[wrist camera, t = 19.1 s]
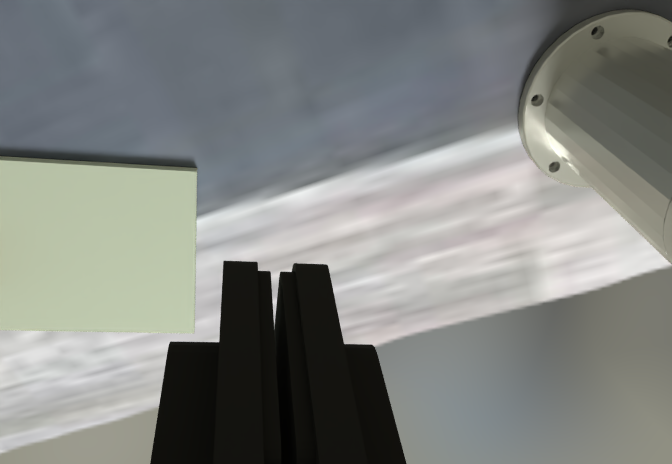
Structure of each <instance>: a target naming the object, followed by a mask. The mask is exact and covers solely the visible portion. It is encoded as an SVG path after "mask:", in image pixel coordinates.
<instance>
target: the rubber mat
mask: <svg viewBox="0 0 672 464" xmlns="http://www.w3.org/2000/svg"><path fill="white" fill-rule="evenodd" d="M196 212H197V168H188V167H171V166H155V165H138V164H121V163H105V162H88V161H72V160H55V159H38V158H22V157H5V156H0V330H21V331H80V332H138V333H194V329H195V273H196Z"/></svg>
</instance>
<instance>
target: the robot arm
mask: <svg viewBox="0 0 672 464" xmlns="http://www.w3.org/2000/svg"><path fill="white" fill-rule="evenodd" d="M593 29H594V31H593V32H592V30H593ZM591 32H592V33H591ZM535 95H536V96H535ZM533 96H535V98H533ZM532 98H533V99H532ZM518 122H519V133H520V137H521V140H522V144H523V146H524V148H525V150H526V152H527V154H528V156H529V157H530V159H531V160H532V161H533V162H534V163H535V164H536V166H537V167H538V168H539V169H540V170H541V171H542V172H543V173H545V174H546V175H547V176H548V177H550V178H552V179H554V180H556V181H558V182H560V183H562V184H566V185H570V186H574V187H586V188H593V189H594V190H595V191H596V192H597V193H598V194H599V195H600V196H601V197H602V198H603V199H604V200H605V201H606V202H607V203H608V204H609V205H610V206H611V207H612V208H613V209H614V210H615V211H617V212H618V213H619V214H620V215H621V216H622V217H623V218H624V219H625V220H626V221H627V222H628V223H629V224H630V225H631V226H632V227H633V228H634V229H635V230H636V231H637V232H638V233H639V234H640V235H642V236H643V237H644V238H645V239H646V240H647V241H648V242H649V243H650V244H651V245H652V246H653V247H654V248H655V249H656V250H657V251H658V252H659V253H660V254H661V255H662V256H663V257H664V258H665V259H667V260H668V261H669V262H670V263H671V264H672V22H671V21H669V20H667V19H665V18H663V17H661V16H658V15H655V14H652V13H649V12H646V11H640V10H631V9H627V10H616V11H610V12H606V13H603V14H599V15H596V16H593V17H591V18H589V19H587V20H585V21H583V22H581V23H579V24H577V25H575V26H574V27H573V28H571V29H570V30H568V31H567V32H566V33H564V34H563V35H561V36H560V37H559V38H558V39H557V40H556V41H555V42H554V43H553V44H552V45H551V46H550V47H549V48H548V49H547V50H546V51H545V52H544V54H543V55H542V56H541V58H540V59H539V61H538V62H537V63H536V65H535V66H534V68H533V70H532V72H531V74H530V76H529V77H528V79H527V81H526V84H525V87H524V90H523V93H522V96H521V99H520V106H519V113H518ZM150 464H406V461H405V457H404V453H403V449H402V445H401V442H400V438H399V434H398V431H397V427H396V423H395V419H394V415H393V412H392V408H391V404H390V401H389V396H388V393H387V389H386V385H385V382H384V378H383V374H382V370H381V366H380V363H379V359H378V355H377V352H376V350H375V347H374V346H373V345H357V344H344V342H343V337H342V332H341V328H340V323H339V318H338V313H337V308H336V303H335V298H334V293H333V288H332V283H331V278H330V273H329V269H328V265H324V264H297V263H294V265H293V268H292V272H280V277H279V287H278V298H277V308H276V318H275V329H274V320H273V304H272V288H271V273H270V271H258V263H257V262H242V261H224V264H223V283H222V302H221V321H220V341H219V342H170V344H169V348H168V353H167V360H166V366H165V372H164V379H163V385H162V392H161V398H160V405H159V411H158V418H157V424H156V430H155V437H154V443H153V450H152V456H151V463H150Z"/></svg>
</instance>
